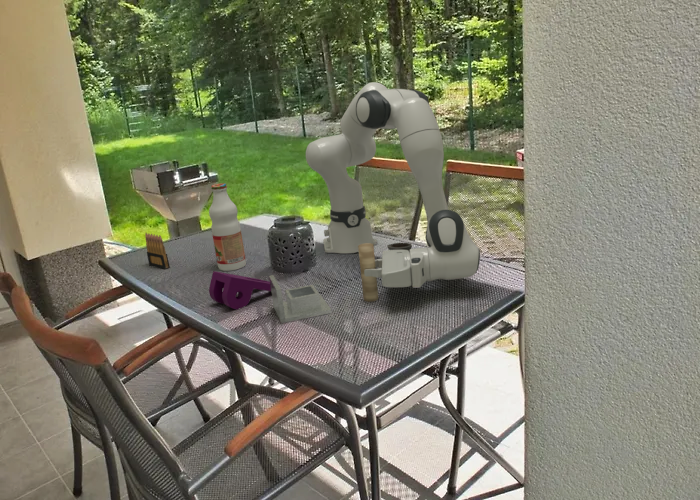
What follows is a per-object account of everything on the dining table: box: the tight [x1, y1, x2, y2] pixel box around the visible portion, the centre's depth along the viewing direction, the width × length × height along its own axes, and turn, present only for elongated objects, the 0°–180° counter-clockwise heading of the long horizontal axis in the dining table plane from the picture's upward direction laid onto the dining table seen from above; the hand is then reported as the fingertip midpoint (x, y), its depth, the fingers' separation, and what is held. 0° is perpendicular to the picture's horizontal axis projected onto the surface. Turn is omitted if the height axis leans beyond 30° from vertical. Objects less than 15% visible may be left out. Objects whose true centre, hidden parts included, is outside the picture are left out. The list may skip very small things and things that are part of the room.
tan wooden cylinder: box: [358, 243, 379, 303], centre depth 158 cm, size 4×4×15 cm
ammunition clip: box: [144, 232, 171, 270], centre depth 208 cm, size 11×2×12 cm, turn 49°
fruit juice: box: [208, 182, 247, 272], centre depth 197 cm, size 9×9×28 cm
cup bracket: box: [268, 274, 333, 324], centre depth 157 cm, size 12×13×9 cm
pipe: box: [387, 242, 413, 253], centre depth 179 cm, size 6×13×8 cm, turn 78°
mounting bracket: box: [208, 270, 271, 310], centre depth 170 cm, size 9×8×18 cm
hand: (364, 269), depth 158 cm, fingers closed on tan wooden cylinder, 4 cm apart
